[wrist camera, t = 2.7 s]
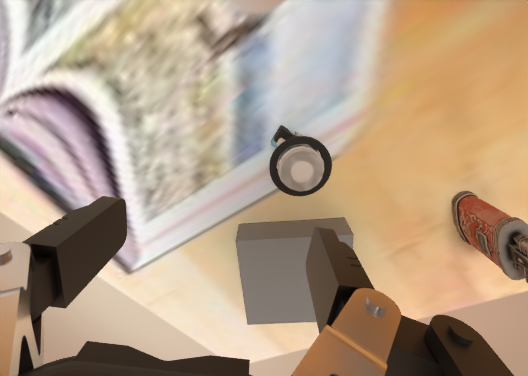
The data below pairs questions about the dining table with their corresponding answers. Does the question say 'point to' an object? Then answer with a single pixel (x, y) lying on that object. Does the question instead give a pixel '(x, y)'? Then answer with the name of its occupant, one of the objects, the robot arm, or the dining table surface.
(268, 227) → the slate stand
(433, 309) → the dining table surface
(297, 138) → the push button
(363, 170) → the dining table surface
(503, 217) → the lighter
